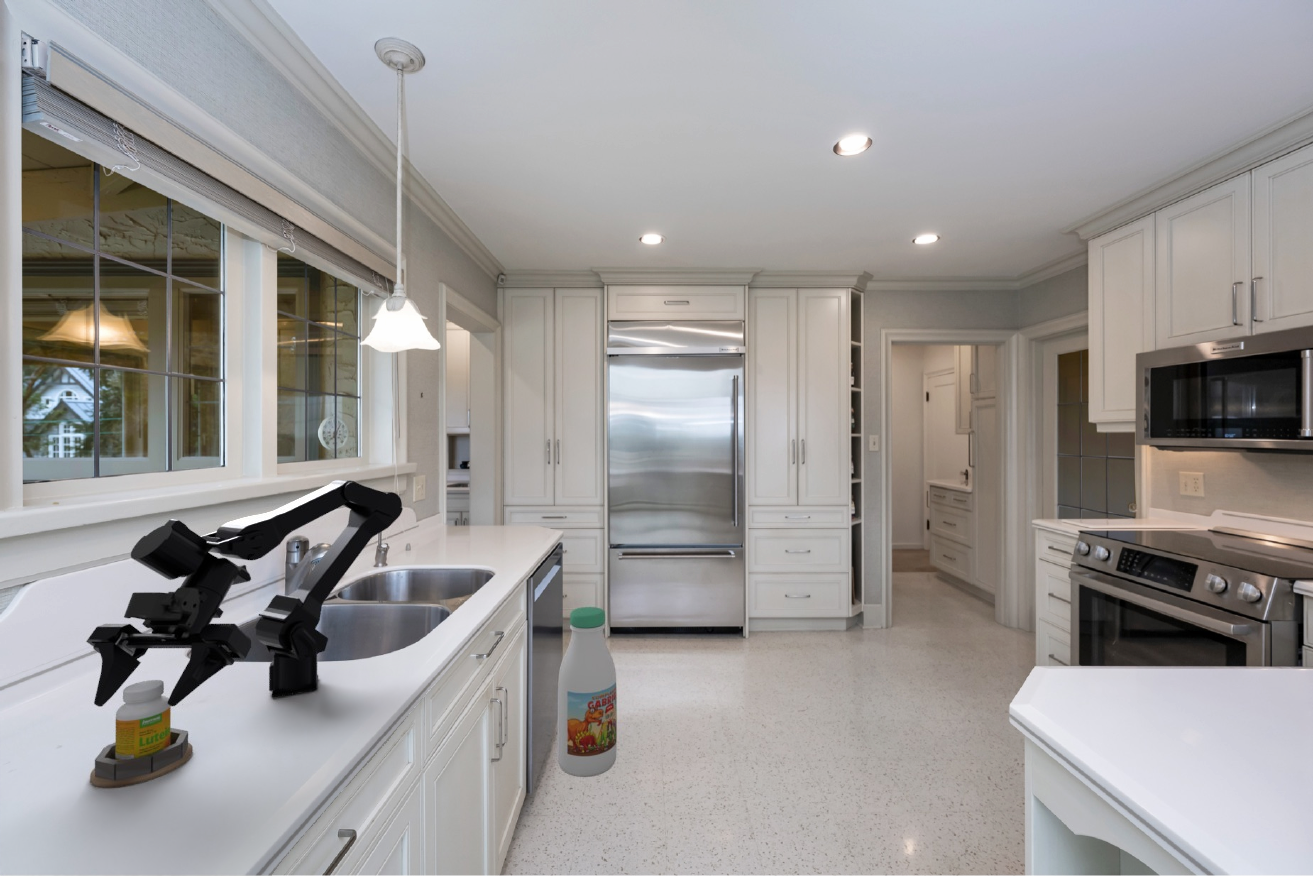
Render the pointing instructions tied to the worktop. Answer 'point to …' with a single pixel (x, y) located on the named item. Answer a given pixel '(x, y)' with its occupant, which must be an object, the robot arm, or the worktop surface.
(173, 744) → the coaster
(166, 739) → the supplement bottle
